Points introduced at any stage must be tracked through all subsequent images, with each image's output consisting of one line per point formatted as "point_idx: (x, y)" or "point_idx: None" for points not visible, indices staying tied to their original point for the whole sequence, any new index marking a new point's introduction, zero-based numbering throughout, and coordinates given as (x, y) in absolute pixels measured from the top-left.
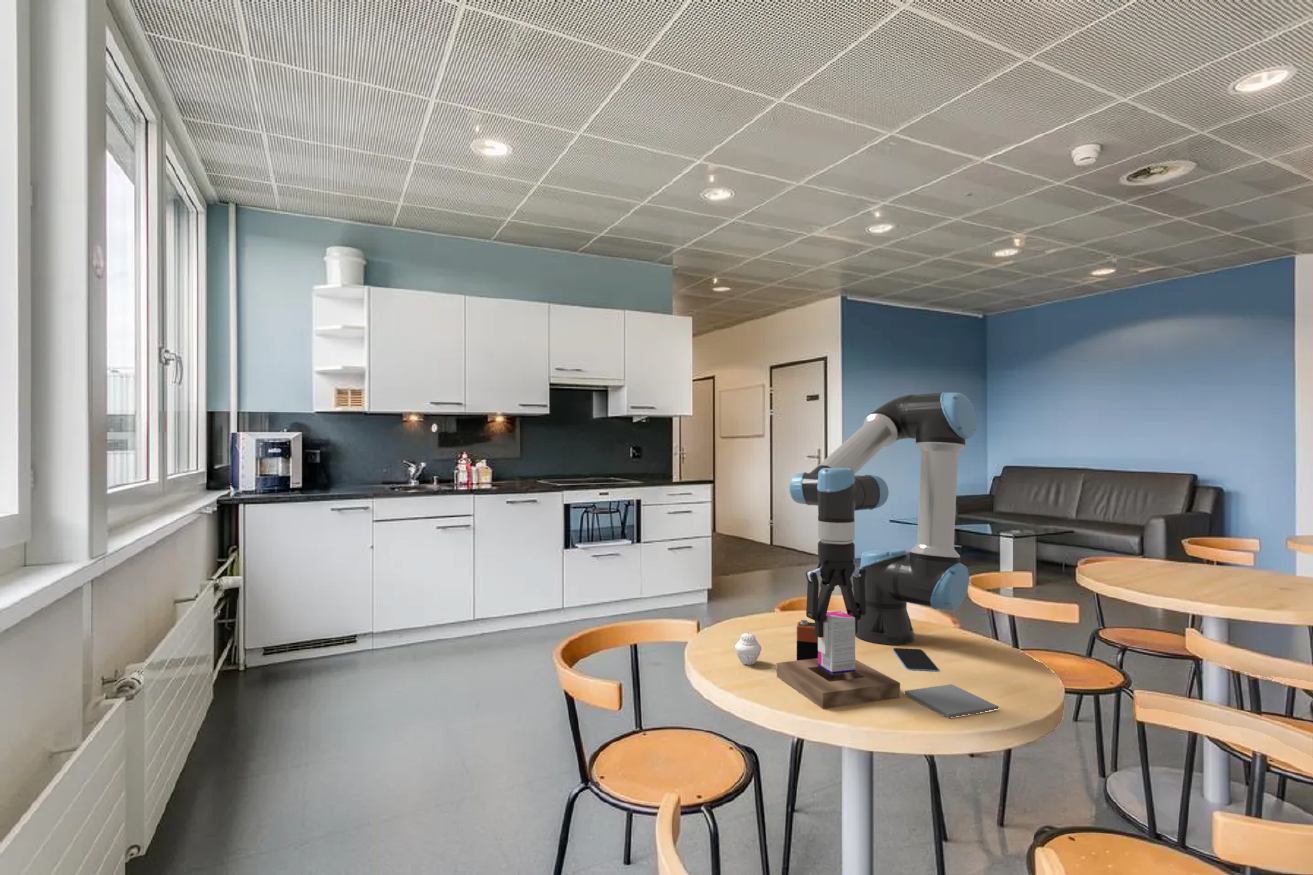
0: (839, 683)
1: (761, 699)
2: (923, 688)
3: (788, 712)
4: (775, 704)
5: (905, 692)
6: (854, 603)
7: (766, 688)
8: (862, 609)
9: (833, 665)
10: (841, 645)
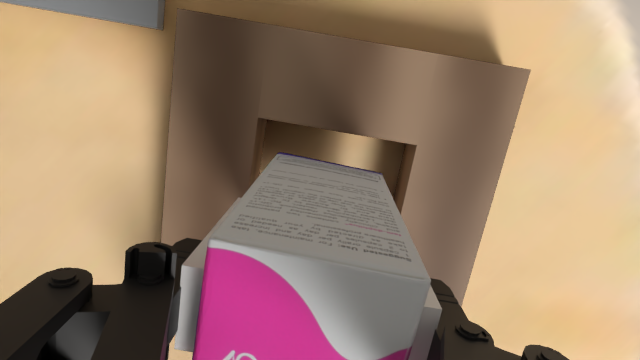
0: (397, 114)
1: (614, 221)
2: (76, 12)
3: (624, 101)
4: (608, 171)
5: (159, 24)
6: (110, 354)
7: (532, 281)
8: (58, 295)
9: (381, 178)
10: (343, 194)
